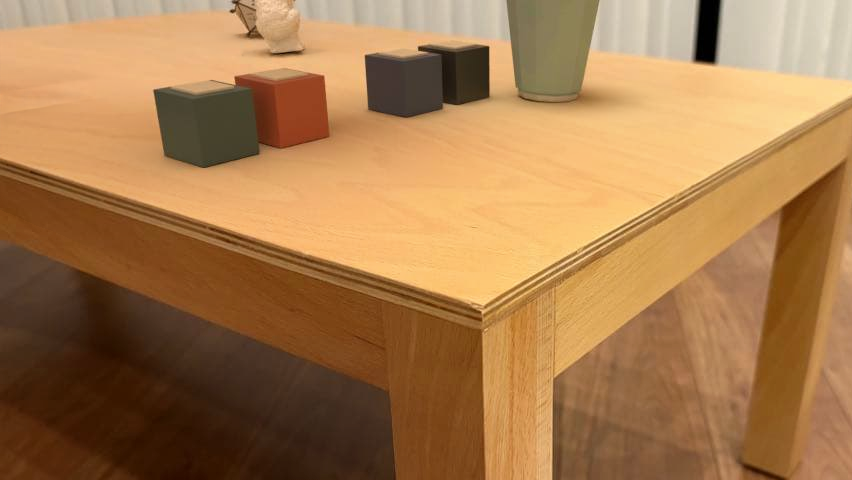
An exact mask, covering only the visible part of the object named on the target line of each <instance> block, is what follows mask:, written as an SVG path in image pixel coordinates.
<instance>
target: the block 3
mask: <svg viewBox="0 0 852 480" xmlns="http://www.w3.org/2000/svg"><path fill="white" fill-rule="evenodd" d="M364 67H365V68H364V69H365V82H366V83H365V84H366V97H367V98H366V99H367V109H368V110H369V111H373V112H374V111H375V112H379V113H385V114H388V115H393V116H399V117H403V118H409V117H413V116H418V115H421V114H425V113H430V112H433V111H438V110H442V109H444V102H443V90H442V55H441V54H434V53H428V52H422V51H418V50H415V49H409V48H397V49H391V50H386V51H385V50H384V51H381V52H379V51H378V52H374V53H368V54H364Z"/></svg>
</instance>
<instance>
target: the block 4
mask: <svg viewBox="0 0 852 480" xmlns="http://www.w3.org/2000/svg"><path fill="white" fill-rule="evenodd" d="M417 51H422V52H428V53H434V54H441V55H442V90H443V103H446V104H451V105H457V106H458V105H461V104H466V103H469V102H474V101H478V100H481V99H486V98H490V96H491V95H490V94H491V93H490V92H491V91H490V89H491V87H490V86H491V83H490V72H491V71H490V45H484V44H477V43H472V42H465V41H458V40H447V41H441V42H435V43H429V44H424V45H418V46H417Z"/></svg>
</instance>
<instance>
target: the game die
mask: <svg viewBox="0 0 852 480" xmlns="http://www.w3.org/2000/svg"><path fill="white" fill-rule="evenodd" d="M295 1H296V0H294V2H295ZM230 2H231V3H232V4H233V5H235V6H234V9H233V8H232V9H230V10H229V11H228V13H231V14H236V15H237V17H238V18H239V20H240V21H241V22H242V24H243V25H244V27H245V28H246V30H247V31H248V32H247V33H246V39H247V38H250V37H251V35H252V34H253V33H259V31H258V30H257V26H256V20H257V15H256V7H255V2H254V0H231V1H230Z"/></svg>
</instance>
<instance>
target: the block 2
mask: <svg viewBox="0 0 852 480" xmlns="http://www.w3.org/2000/svg"><path fill="white" fill-rule="evenodd" d="M233 77H234V85H238V86H242V87H247V88H251V89H252V94H253V102H254V110H255V118H256V127H257V135H258V143H260V144H265V145H268V146H272V147H276V148H280V149H283V148H288V147H292V146H296V145H300V144H304V143H308V142H312V141H316V140H321V139H324V138H328V137H330V127H329V126H330V125H329V114H328V113H329V112H328V102H327V91H326V79H325V75H324V74H318V73H312V72H308V71H303V70H297V69H291V68H286V67H281V68H276V69H269V70H263V71H256V72H250V73H246V74H240V75H234V76H233Z"/></svg>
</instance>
